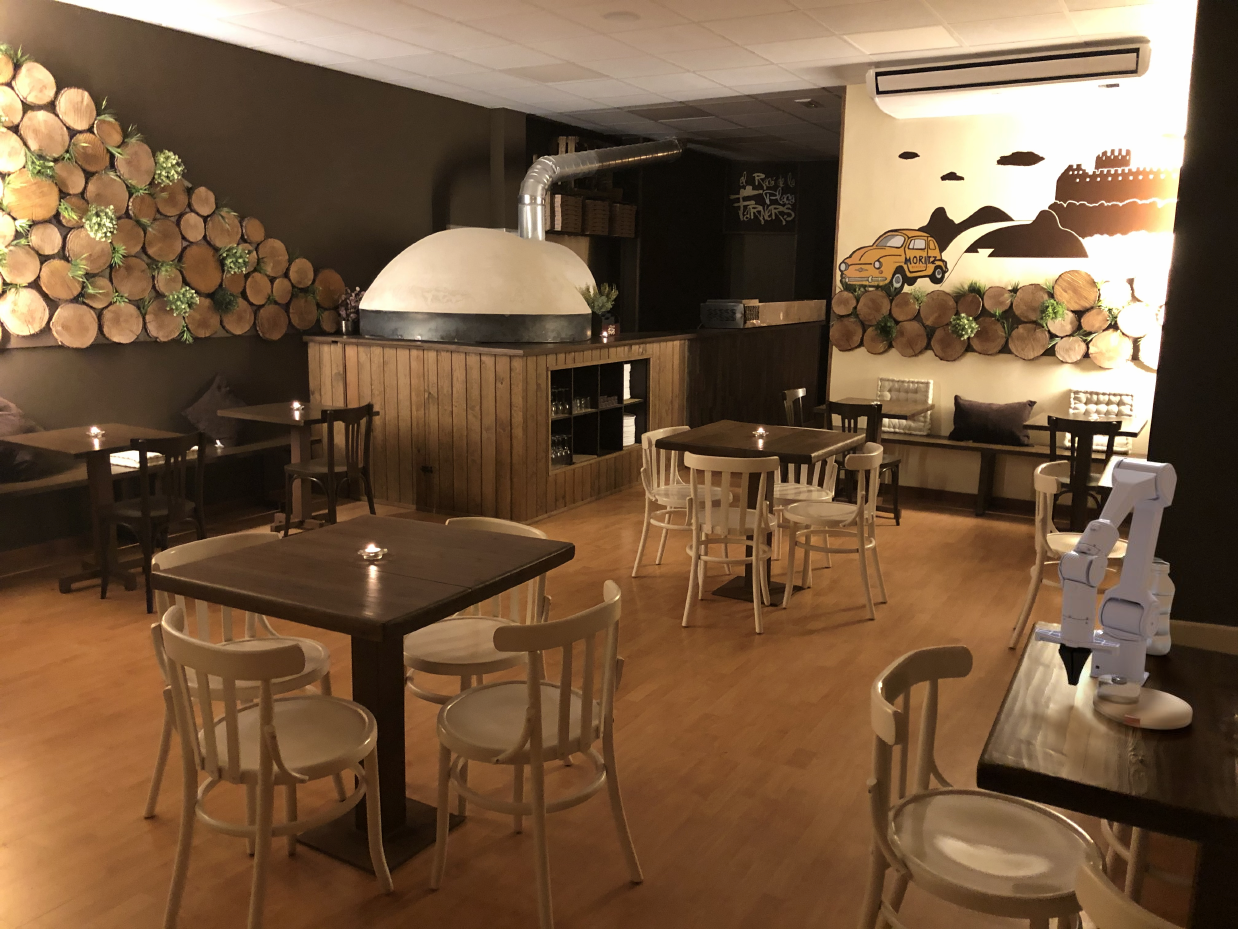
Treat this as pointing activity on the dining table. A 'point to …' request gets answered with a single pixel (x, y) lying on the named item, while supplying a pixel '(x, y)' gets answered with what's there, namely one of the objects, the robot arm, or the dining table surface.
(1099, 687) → the cover
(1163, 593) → the plastic bottle
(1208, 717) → the dining table surface
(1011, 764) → the dining table surface
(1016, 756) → the dining table surface
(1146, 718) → the turntable
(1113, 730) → the dining table surface
